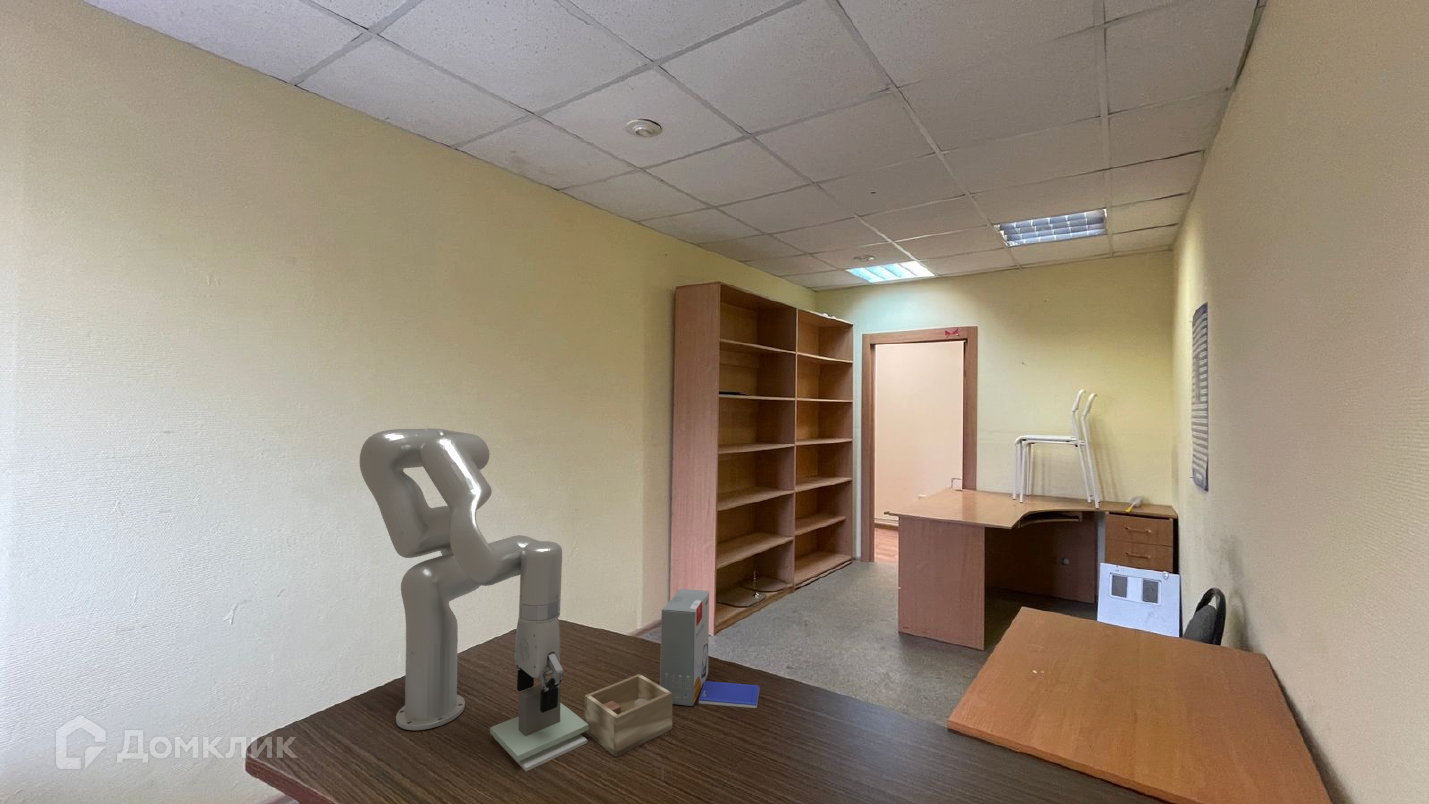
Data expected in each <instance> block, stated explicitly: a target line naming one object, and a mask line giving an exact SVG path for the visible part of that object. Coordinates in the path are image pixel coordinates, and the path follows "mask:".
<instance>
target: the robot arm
mask: <svg viewBox="0 0 1429 804" xmlns="http://www.w3.org/2000/svg"><path fill="white" fill-rule="evenodd" d="M489 460H490V450H489V447H488V445H487V443H486V442H485V440H483V438H482V437H480V436H479V435H476V434H473V433H469V432H461V431H455V430H449V429H444V428H443V429H442V428H396V429H388V430H382V431H379V432H376V433H373V434H371V436H369V437H368V438H367V439H365V441H364V443H363V445H362V446H361V449H360V453H359V468H360V473H361V477H362V478H363V481H364V483H365V485H366V486H367V488H368V489H369V491H370V492H371V494H372V496H373V497H374V500H375V501H376V504H377V506H378V508H379V511H380V515H381V516H382V517H381V518H382V519H383V522H384V525H385V528H386V529H387V533H388V536H389V538H390V541H391V543H392V545H393V547H394V550H395V552H396V553H397V555H399V556H401V558H404V559H412V558H418V557H424V556H427V555H429V554H430V555H431V554H432V553H433V554H434V553H436V552H440V553H441V555H439V556H435V557H433V558H430V559H427V560H422V561H420V562H418V563H416V564H414V565H413V566H412V567H410V568H409V569H408V570H407V571H406V572H405V573H404V575H403V576H402V579H401V582H400V593H401V597H402V598H401V599H402V602H403V609H404V615H405V678H404V679H405V680H404V681H405V683H404V684H405V685H404V687H405V688H404V689H405V690H404V700H405V701H404V705H403V706H402V707H400V709H399V710H398V711H397V713H396V714H395V715H396V716H395V724H396V725H397V726H398V728H401V729H403V730H408V731H424V730H430V729H434V728H437V727H441V726H444V725H446V724H448V723H450V722H452V721H454V720H455V719H456V718H458V717H459V716H460V715H461V714H463V712H464V710H465V708H466V707H465V706H466V701H465V698H464V697H463V696H461V695H460V694H457V693H458V692H457V690H458V639H459V638H458V629H459V628H458V619H457V617H456V615H455V613H454V612H453V610H452V608H451V607H450V602H451V601H454V600H455V599H458V598H460V597H462V596H465V595H467V594H470V593H472V592H475V591H476V590H478V589H479V588H480V587H481V586H483V587H484V586H485V587H487V586H488V587H489V586H493V585H495V584H499V583H501V582H502V581H503V582H504V581H505V580H508V579H510V578H514V577H518V576H519V578H520V579H519V600H518V601H519V603H518V619H517V625H516V631H515V632H516V633H515V640H514V641H515V642H514V654H513V655H514V656H513V657H514V658H513V660H514V663H515V664H516V668H517V676H516V677H517V680H516V681H517V682H516V690H517V691H518V692H521V691H524V690H527V689H530V688H533V687H535V686H534V685H535V684H534V683H535V682H534V681H535V680H537V679H540V682H541V683H540V684H542V687H543V690H541V698H540V711H541V712H542V713H543V712H546V711H549V710H551V709H554V708H556V707H557V705H558V687H559V686H560V687H561V683H562V679H563V678H562V677H563V674H564V669H563V667H562V665H561V664H560V661H561V636H560V633H561V631H560V622H559V621H560V620H559V617H561V616H560V615H561V599H562V597H561V596H562V594H561V593H562V571H563V567H562V566H563V565H562V564H563V549H562V546H561V545H560V544H559V543H558V542H554V541H547V540H544V541H542V540H541V541H540V540H537V539H534V538H532V537H529V536H526V535H521V534H520V535H513V536H510V537H507V538H502V539H499V540H495V541H492V542H488V541H487V540H486V538H485V537H484V535H483V533H482V532H481V529H479V525H478V523H477V515H476V514H477V511H478V510H479V509H481V508H482V507H483V506H484V505H485V504H486V503H487V502H488V500H489V499H490V497H491V496H492V490H493V489H492V486H490V483H489V482H488V481H487V480H486V478H485V476H484V475H483V473H482V472H481V470H482V469H484V468H485V467H486V466H487V465H488V464H489ZM422 467H423V469H424V470H425V472H426V474H427V475H428V477H429V478H430V481H431V482H432V483H433V485H434V486H435V488H436V489H437V491H438V493H439V494H440V496H441V497H442V499H443V501H444V502H445V504H446V505H442V506H441V505H440V506H436V507H431V506H429V504H428V502H427V500H426V498H425V495H424V492H423V491H422V489H421V486H420V485H419V484H418V483H417V482H416V481H415V480H414V479H413V478H412V477H411V476H410V475H408V474H407V473H406V472H404V470H405V469H412V468H422ZM546 669H549V670H546ZM548 676H551V678H550V679H549V680H547V677H548ZM547 682H548V683H547Z"/></svg>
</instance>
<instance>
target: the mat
mask: <svg viewBox="0 0 1429 804" xmlns="http://www.w3.org/2000/svg"><path fill="white" fill-rule="evenodd" d="M492 736H493V735H492ZM493 738H494V736H493ZM495 741H496V742H497V743H498V744H499V745H500V746H501V747H502V749H504V750H505V751H506V753H508V754H509V756H510V757H511V758H512V759H513V760H514V761H515V762H516V763H517V764H518V765H519V766H520V768H522V769H523V771H525V772H529V771H530V770H532V769H535V768H536V767H539V766H541V765H543V764H545V763H547V762H549V761H552V760H554V759H556V758H559V757H560V756H562V755H564V754H565V755H566V754H567V753H569V752H571V751H573V750H575V749H578V748H579V747H581V746H584V745H585V744H587V743H588V739H587V738H586V737H585V736H583V735H582V733H580V734H578V735H576V736H574V737H572V738H569V739H567V740H565V741H563V742H561V743H558V744H556V745H554V746H552V747H549V748H547V749H545V750H543V751H541V752H538V753H536V754H534V755H532V756H529V757H527V758H525V759H523V760H521V761H518V762H517V761H516V760H515V759H514V758H513V757H512V755H511V754H510V753H509V752H508V751H507V750H506V749H505V748H504V747H503V746H502V745H501V744H500V743H499V742H498V741H497V740H496V739H495Z"/></svg>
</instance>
